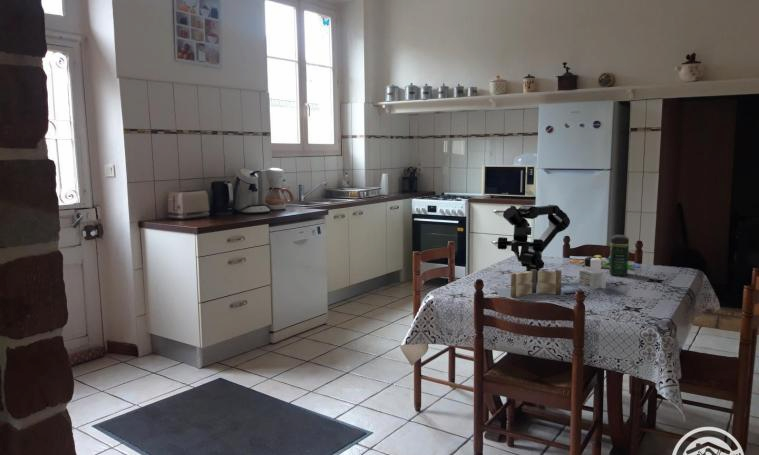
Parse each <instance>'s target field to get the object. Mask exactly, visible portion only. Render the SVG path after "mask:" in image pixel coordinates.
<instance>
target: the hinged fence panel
mask: <svg viewBox="0 0 759 455" xmlns="http://www.w3.org/2000/svg"><path fill="white" fill-rule="evenodd" d="M537 287H538V282H537V270H536V269H531V271H527V272H526V271H523V272H516V273H514V272H512V273H510V288H511V297H510V298H517V297H516V296H521V295H526V294H531V293H537Z"/></svg>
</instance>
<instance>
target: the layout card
mask: <svg viewBox="0 0 759 455" xmlns="http://www.w3.org/2000/svg"><path fill="white" fill-rule="evenodd" d="M493 290H494V291H495V293H497V294H498V296H499V297H500V298H501V297H506V298H512V297H511V287H506V288H503V287H501V288H500V287H499V288H493ZM566 296H567V295H566V294H564V293H563V291H561V294H545V293H531V294H526V295H521V296H516V297H515V298H530V297H531V298H532V297H533V298H534V297H537V298H538V297H566Z"/></svg>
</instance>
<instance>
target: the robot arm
mask: <svg viewBox="0 0 759 455" xmlns="http://www.w3.org/2000/svg"><path fill="white" fill-rule="evenodd" d="M546 215H547V220H548V227H547V228H546V230H545V231H544V232H543V233H542V234H541V236H540V237H539V238H533V241H528V236H532V226H530V225H531V224H530V223H529V222H528V220H533V219H536V218H538V216H546ZM502 216H503V218H504V219H505V220H506V221H507V222H508V223H509V224H510V225H511V226H513V237H512V238H513V239H511V240H508V237H504V236H503V237H502V236H499V237H498V238H497V249H498V250H506V249H508V246H509V247H510V250H511V252H513V253H514V255H515V256H516V257H515V258H516V259H517V261H518V262H519V263H520V264H521V267H524V268H526V269H525V272H527V271H531V269H536V270H537V283H538V271H540V270H541V269H543V268H544V266H545V261H543V259H542V258H543V252H544V250H546V248H547V247H548V246H549V244H550V243H551V242H552V241H553V240H554V238H555V237H556V235H557V234H558V233H561V232H562V231H565V230H566V229H567V228H568V227H569V226H570V224H571V220H570V218H569V216H568V214H567V213H566V212H564V210H562V209H561V208H560V207H559V206H558V205H556V204H548V205H540V206H533V205H524V204H523V205H520V206H519V208H517V207H516V206H515V205H510V206H509V207H508V208H506V209H505V210H504V211H503V214H502ZM519 249H520V250H519Z"/></svg>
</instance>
